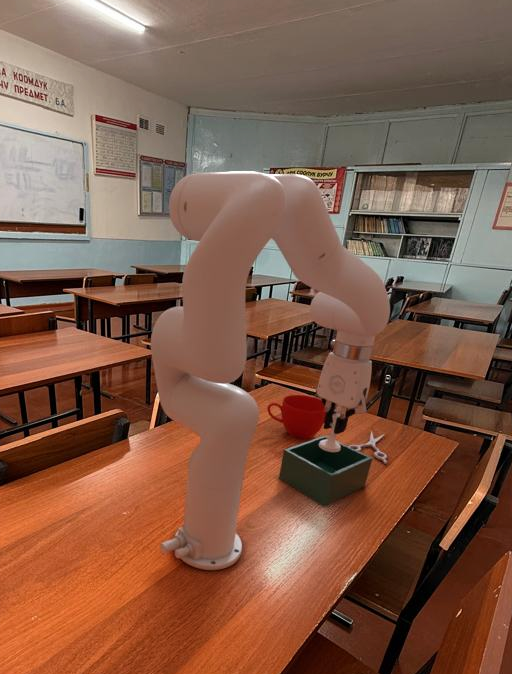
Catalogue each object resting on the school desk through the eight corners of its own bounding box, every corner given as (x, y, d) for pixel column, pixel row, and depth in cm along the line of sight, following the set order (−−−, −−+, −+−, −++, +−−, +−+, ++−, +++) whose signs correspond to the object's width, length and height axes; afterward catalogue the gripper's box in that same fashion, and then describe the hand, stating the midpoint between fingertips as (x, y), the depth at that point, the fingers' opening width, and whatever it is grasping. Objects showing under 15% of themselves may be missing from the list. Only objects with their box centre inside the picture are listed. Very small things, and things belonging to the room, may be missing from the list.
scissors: (346, 450, 120) (360, 425, 136) (345, 452, 120) (360, 428, 136) (386, 462, 115) (397, 435, 131) (386, 464, 115) (396, 437, 131)
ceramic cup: (264, 421, 135) (268, 391, 131) (319, 428, 134) (325, 397, 130) (264, 439, 124) (269, 406, 120) (324, 447, 122) (331, 414, 118)
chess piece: (341, 453, 98) (351, 413, 94) (319, 450, 99) (328, 409, 95) (339, 444, 103) (349, 405, 98) (318, 440, 103) (326, 401, 99)
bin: (324, 506, 96) (332, 476, 92) (278, 478, 105) (283, 449, 102) (364, 486, 105) (372, 458, 101) (319, 461, 114) (325, 435, 111)
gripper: (310, 343, 94) (295, 420, 102) (376, 363, 83) (354, 448, 91) (331, 340, 99) (315, 414, 107) (397, 359, 88) (374, 440, 95)
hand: (333, 429), depth 99 cm, fingers closed on chess piece
